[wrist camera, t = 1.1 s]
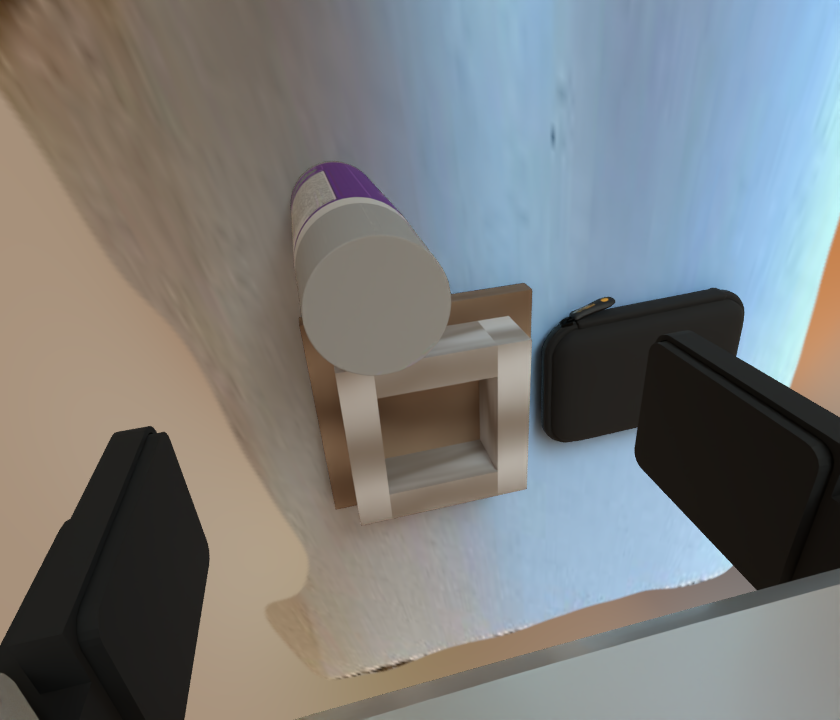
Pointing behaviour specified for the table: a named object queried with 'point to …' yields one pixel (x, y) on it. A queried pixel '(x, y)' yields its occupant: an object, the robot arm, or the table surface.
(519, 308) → the mount
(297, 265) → the container
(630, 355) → the carrying case or bag
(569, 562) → the table surface
